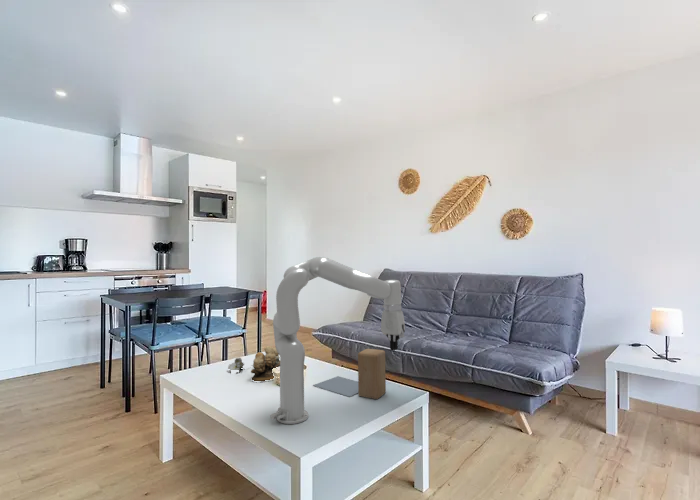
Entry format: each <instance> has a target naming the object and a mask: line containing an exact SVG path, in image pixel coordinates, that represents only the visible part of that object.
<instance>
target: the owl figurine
mask: <svg viewBox="0 0 700 500" xmlns="http://www.w3.org/2000/svg"><path fill="white" fill-rule="evenodd" d="M252 367H253V368H252V369H251V370H250V373H251V374H254V375H253V376H252V377H251V378H252V380H254V381H265V380H270V379H273V378H274V376H273V373H272V369H273V368H276V367H278V368H280V355H279V354H278V352H277V350H276V347H272V346H270V345H266V346H265V347H264V353H263V352H256V353H255V355H254V359H253V363H252ZM276 369H277V368H276Z"/></svg>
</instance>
